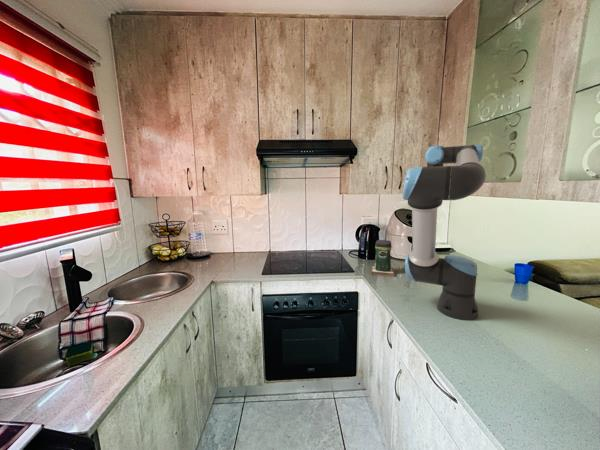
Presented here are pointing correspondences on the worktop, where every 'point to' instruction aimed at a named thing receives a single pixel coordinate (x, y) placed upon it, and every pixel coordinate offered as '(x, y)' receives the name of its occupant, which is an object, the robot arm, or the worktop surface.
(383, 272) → the tan flat block
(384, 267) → the coffee jar
